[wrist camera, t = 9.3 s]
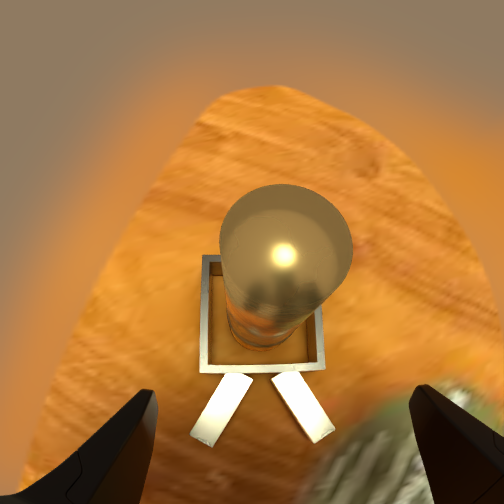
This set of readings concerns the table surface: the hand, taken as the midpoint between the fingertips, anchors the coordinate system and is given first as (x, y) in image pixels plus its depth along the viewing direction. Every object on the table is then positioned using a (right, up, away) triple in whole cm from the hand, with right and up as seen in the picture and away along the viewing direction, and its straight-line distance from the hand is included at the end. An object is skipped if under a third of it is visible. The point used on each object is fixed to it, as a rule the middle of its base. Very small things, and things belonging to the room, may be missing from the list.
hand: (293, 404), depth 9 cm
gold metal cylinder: (-1, +1, +9) cm, 9 cm away
